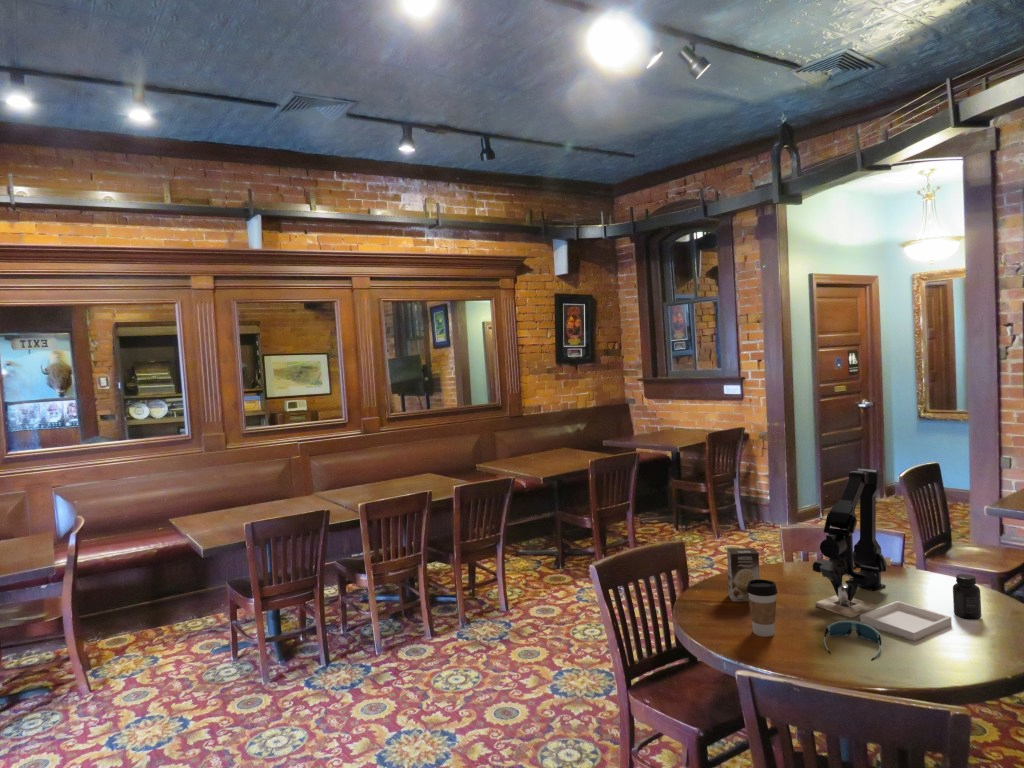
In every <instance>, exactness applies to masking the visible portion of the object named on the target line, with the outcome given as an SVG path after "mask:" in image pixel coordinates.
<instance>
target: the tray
mask: <svg viewBox="0 0 1024 768" xmlns="http://www.w3.org/2000/svg"><path fill="white" fill-rule="evenodd" d="M859 619H860V620H859V622H861V623H865V624H867V625H869V626H871V627H873V628H874V629H876V630H880V631H883V632H885V633H887V634H888V633H889V634H891V635H894V636H895V637H900V638H902V639H906V640H908V641H911V642H918V641H919V639H920V640H922V639H924V638H927V637H929V636H931V635H933V634H936V633H938V632H940V631H942V630H943V631H944V630H945V629H947V628H950V627H952V622H953V621H952V617H951V616H949V615H945V614H942V613H939V612H936V611H932V610H928V609H926V608H922V607H919V606H915V605H913V604H909V603H906V602H902V601H899V600H896V601H893V602H890V603H888V604H885V605H882V606H880V607H877V608H875V609H873V610H870V611H867V612H865V613H862V614H859Z"/></svg>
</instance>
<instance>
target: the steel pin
mask: <svg viewBox="0 0 1024 768" xmlns="http://www.w3.org/2000/svg"><path fill="white" fill-rule="evenodd" d="M838 603H839V605H840V606H843V607H846V608H848V607H851V601H849V598H848V585H847V584H843V583H842V584H841V585H838Z"/></svg>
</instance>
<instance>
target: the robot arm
mask: <svg viewBox="0 0 1024 768" xmlns="http://www.w3.org/2000/svg"><path fill="white" fill-rule="evenodd" d="M883 482H884V475H883V473H880V471H879V469H868V468H857V469H856V470H852V471H849V473H848V480H847V483H846V485H845V487H844V490H843V492H842V494H841V497H840V499H839V501H838V502H837V503H835V504H833V505H832V506H831V508H830V510H829V511H828V513H827V515H826V519H825V524H824V528H823V533H824V534H826V535H825V539H824V540H822V541H821V542H820V545H819V550H820V552H821V554H822V555H823V556H824V557H826V558H828V559H823V558H822V559H819V560H817V561H816V560H815V561H814V562H813V563H812V565H811V566H812V571H813V572H815V573H819V574H820V573H821V575H822V577H824V578H827V579H828V580H829V581H830V583H831V585H832V586H833V587H832V588H833V590H834V592H835V595H837V597H838V585H841V584H843V577H844V576H846V577H849V579H848V580H845V581H844V582H845V583H846V584H845V585H848V598H849V601H852V599H853V598H854V597H855V595H856V593H857V591H858V589H859V588H863V589H867V590H871V591H874V592H875V591H877V590H880V589H883V588H886V585H885V584H884V583H882V574H881V573H884V572H886V571H887V566H888V565H887V561H886V559H885V557H884V555H883V553H882V547H881V546H880V544H879V542H878V541H877V536H876V535H877V534H876V533H877V526H876V525H877V523H876V520H877V519H876V517H877V515H876V514H877V507H876V506H877V502H876V501H877V500H876V499H877V495H878V494H879V492H880V491H881V489H882V484H883ZM858 503H859V540H858V541H857V542H856V543H855V544H854V543H853V534H854V533H855V530H856V527H857V524H858V519H857V515H856V511H855V510H856V507H857V506H858ZM853 544H854V545H853ZM857 569H860V570H859V571H855V570H857Z"/></svg>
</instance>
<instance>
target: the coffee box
mask: <svg viewBox="0 0 1024 768" xmlns="http://www.w3.org/2000/svg"><path fill="white" fill-rule="evenodd" d="M726 557H727V558H726V560H727V561H726V562H727V589H728V592H727V593H728V597H729V599H730V600H731V601H732V602H749V599H748V597H749V593H748V592H747V586H748V582H749V581H750V580H755V579H761V577H760V553H759V551H757V549H755V547H745V548H741V547H740V548H739V547H735V548H726Z"/></svg>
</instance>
